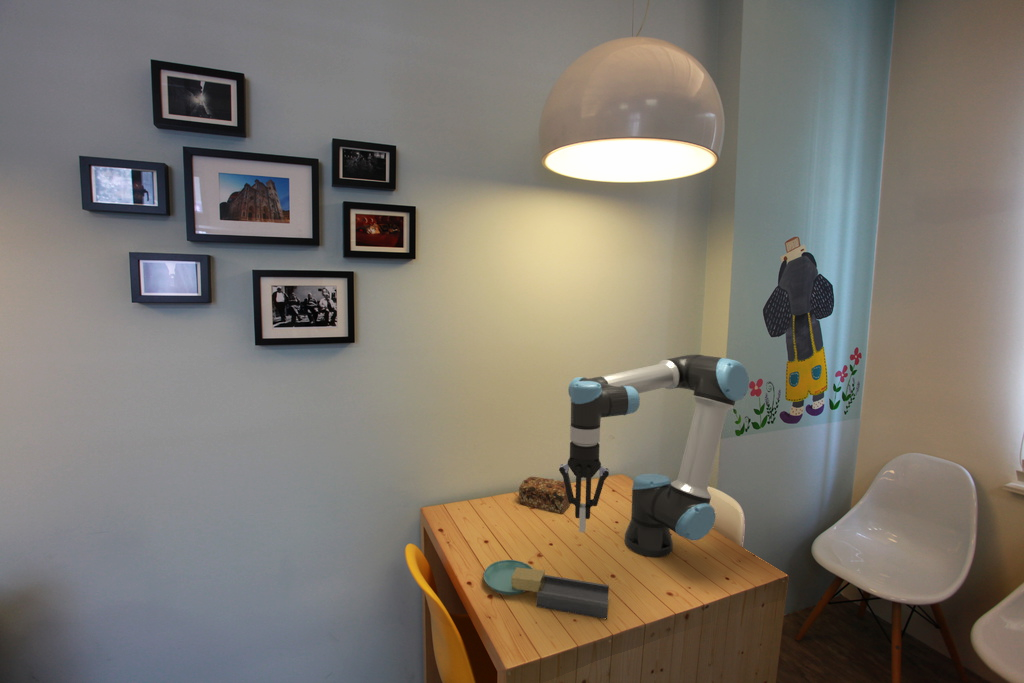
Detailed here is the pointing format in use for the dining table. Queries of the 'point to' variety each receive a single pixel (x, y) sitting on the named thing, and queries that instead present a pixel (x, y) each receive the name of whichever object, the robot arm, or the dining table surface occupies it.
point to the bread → (544, 494)
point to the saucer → (503, 576)
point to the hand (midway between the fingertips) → (582, 529)
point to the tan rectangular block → (528, 579)
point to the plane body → (574, 596)
